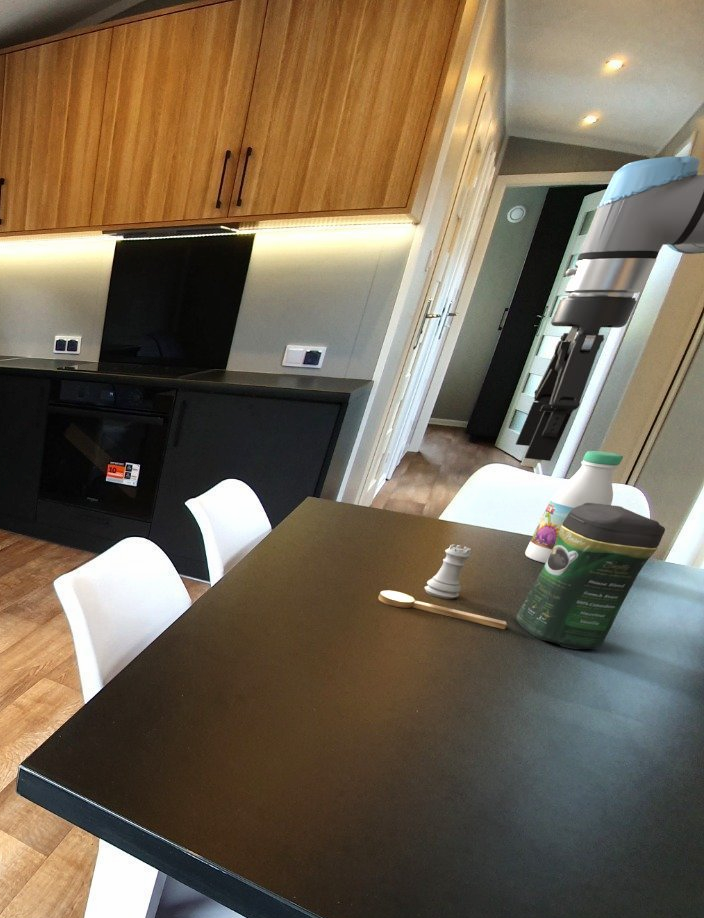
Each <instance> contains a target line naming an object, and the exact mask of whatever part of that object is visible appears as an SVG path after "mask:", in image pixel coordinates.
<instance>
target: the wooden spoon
mask: <svg viewBox="0 0 704 918" xmlns="http://www.w3.org/2000/svg"><path fill="white" fill-rule="evenodd" d="M378 600H379V601H380V602H381V603H382V604H383V603H384V604H386V605H388V606H392V607H395V608H401V609H410V608H413V609H417V610H421V611H426V612H429V613H434V614H438V615H442V616H447V617H450V618H454V619H458V620H463V621H467V622H471V623H476V624H480V625H483V626H488V627H492V628H497V629H500V630H506V628H507V626H508V624H507V623H508V622H507V621H505V620H501V619H497V618H492V617H488V616H484V615H480V614H475V613H471V612H467V611H463V610H458V609H454V608H451V607H450V608H449V607H446V606H441V605H436V604H433V603H428V602H424V601H419V600H416V599H415V598H414V597H413V596H412V595H409V594H406V593H403V592H400V591H397V590H396V591H395V590H382V591H380V592H379V595H378Z"/></svg>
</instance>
